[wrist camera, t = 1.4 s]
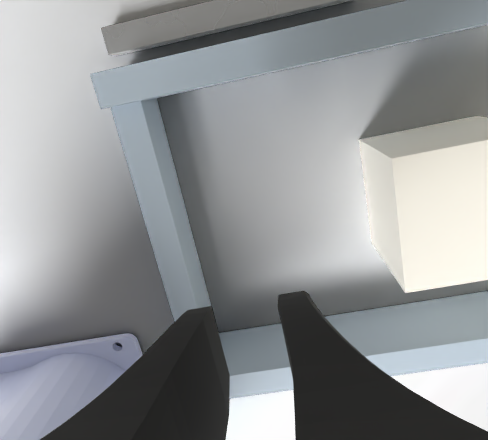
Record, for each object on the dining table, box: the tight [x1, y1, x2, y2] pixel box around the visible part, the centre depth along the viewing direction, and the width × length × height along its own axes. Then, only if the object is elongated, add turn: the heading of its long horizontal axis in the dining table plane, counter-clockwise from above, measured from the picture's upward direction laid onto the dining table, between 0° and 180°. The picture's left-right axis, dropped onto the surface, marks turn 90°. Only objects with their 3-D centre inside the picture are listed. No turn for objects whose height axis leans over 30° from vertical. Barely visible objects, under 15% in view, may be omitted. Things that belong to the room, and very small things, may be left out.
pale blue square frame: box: [90, 0, 488, 399], centre depth 17 cm, size 15×14×4 cm
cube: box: [359, 116, 488, 293], centre depth 16 cm, size 5×5×5 cm
